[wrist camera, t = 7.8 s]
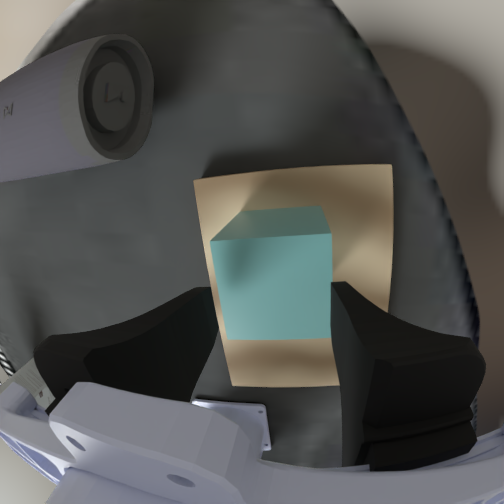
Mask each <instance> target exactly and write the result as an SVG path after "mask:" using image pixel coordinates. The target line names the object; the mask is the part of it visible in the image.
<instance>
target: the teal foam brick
mask: <svg viewBox="0 0 504 504" xmlns="http://www.w3.org/2000/svg"><path fill="white" fill-rule="evenodd" d="M210 247H211V253H212V259H213V265H214V271H215V276H216V282H217V287H218V293H219V298H220V304H221V309H222V314H223V319H224V325H225V330H226V335H227V340H289V339H317V338H331V328H330V311H331V282H333V271H332V233H331V231H330V228H329V225H328V223H327V220H326V218H325V215H324V213H323V210H322V207H321V206H305V207H291V208H277V209H264V210H252V211H240V212H239V213H238V214H237V215H236V216H235V217H234V218H233V219H232V220H231V221H230V222H229V223H228V224H227V225H226V226H225V227H224V228H223V229H222V230H221V231H220V232H219V233H218V234H216V235H215V236H214V237H213V238H212V239H211V240H210Z"/></svg>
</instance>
